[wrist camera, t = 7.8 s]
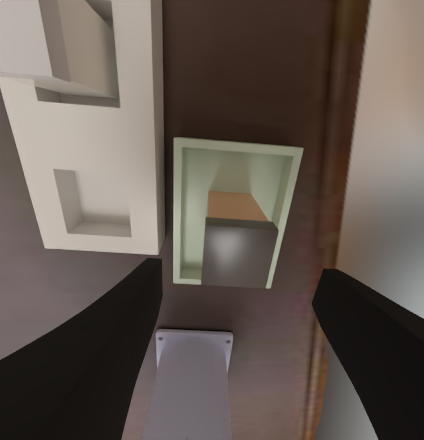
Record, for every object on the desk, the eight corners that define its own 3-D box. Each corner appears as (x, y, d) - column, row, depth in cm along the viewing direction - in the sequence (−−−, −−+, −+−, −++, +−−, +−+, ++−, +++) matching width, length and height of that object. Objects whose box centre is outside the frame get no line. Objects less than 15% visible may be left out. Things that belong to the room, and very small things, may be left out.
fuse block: (165, 238, 17) (158, 254, 15) (68, 231, 17) (44, 248, 15) (161, 0, 12) (149, -34, 9) (14, -15, 11) (-40, -55, 9)
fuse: (124, 101, 13) (52, 76, 7) (68, 97, 13) (-52, 66, 7) (119, 32, 12) (24, -70, 6) (56, 26, 11) (-106, -86, 6)
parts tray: (264, 273, 19) (270, 288, 17) (176, 268, 19) (173, 283, 17) (292, 146, 15) (303, 148, 13) (178, 136, 14) (173, 137, 12)
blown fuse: (245, 233, 17) (265, 288, 11) (204, 230, 17) (200, 284, 11) (252, 192, 15) (279, 230, 9) (207, 189, 15) (205, 225, 9)
